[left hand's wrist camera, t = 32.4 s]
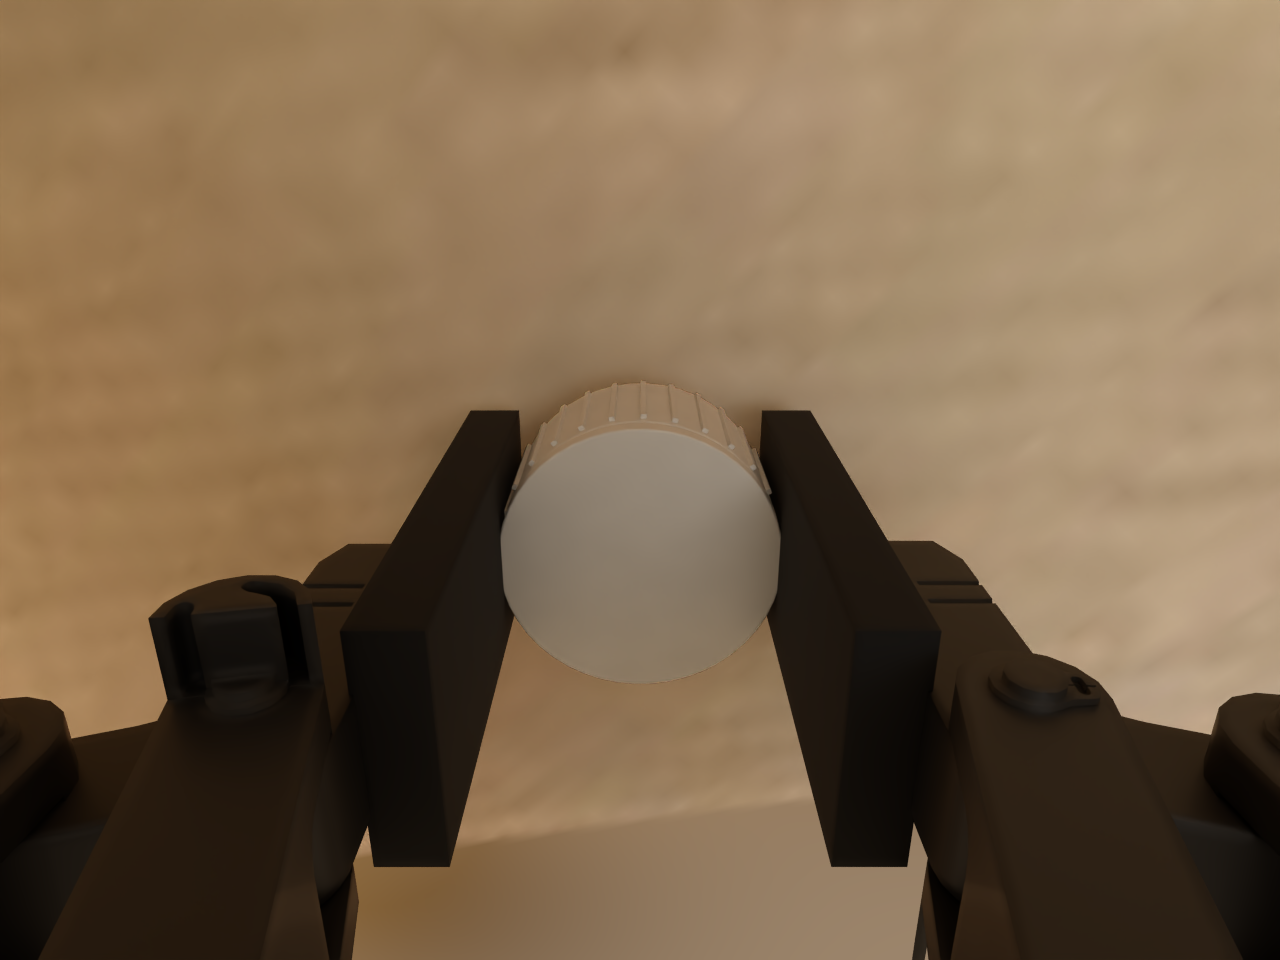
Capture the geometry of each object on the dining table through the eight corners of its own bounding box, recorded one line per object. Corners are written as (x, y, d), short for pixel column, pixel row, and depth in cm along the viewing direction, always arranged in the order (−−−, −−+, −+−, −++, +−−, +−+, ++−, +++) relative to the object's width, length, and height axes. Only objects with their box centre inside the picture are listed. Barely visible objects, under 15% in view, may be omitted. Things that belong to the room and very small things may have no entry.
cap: (816, 507, 14) (847, 573, 12) (632, 651, 15) (631, 735, 13) (649, 324, 13) (651, 361, 11) (463, 492, 14) (431, 556, 12)
